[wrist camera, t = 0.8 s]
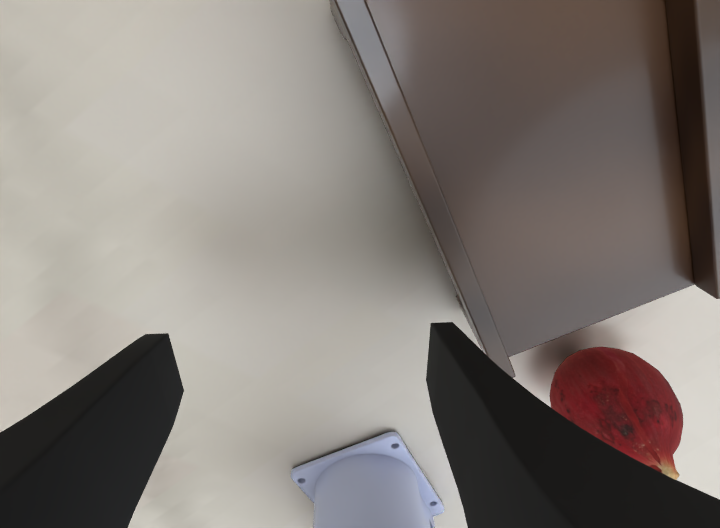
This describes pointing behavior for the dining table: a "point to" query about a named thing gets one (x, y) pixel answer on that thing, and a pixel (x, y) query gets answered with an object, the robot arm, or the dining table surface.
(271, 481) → the dining table surface
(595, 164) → the shelf
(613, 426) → the onion
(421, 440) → the dining table surface
